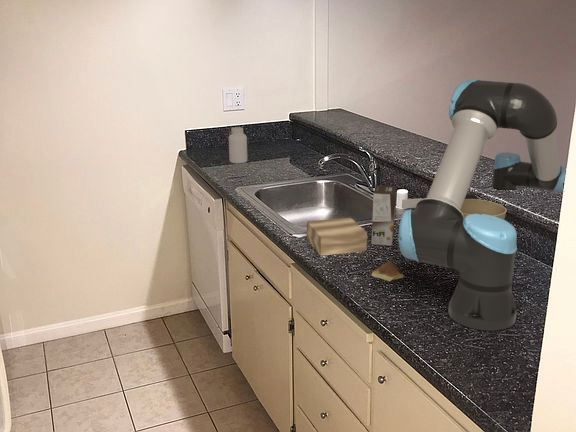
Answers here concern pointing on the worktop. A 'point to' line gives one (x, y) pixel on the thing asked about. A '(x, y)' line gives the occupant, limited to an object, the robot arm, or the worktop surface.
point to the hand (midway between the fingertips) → (411, 210)
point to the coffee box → (383, 215)
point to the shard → (388, 272)
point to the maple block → (336, 236)
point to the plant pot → (483, 208)
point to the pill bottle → (237, 146)
